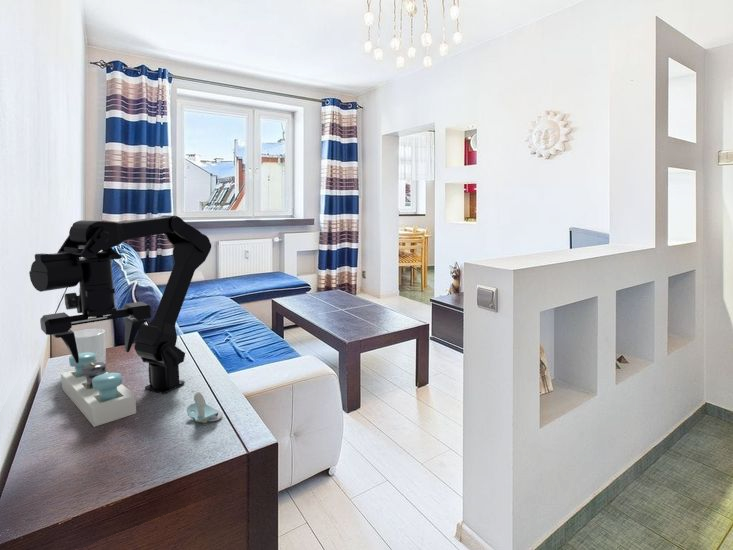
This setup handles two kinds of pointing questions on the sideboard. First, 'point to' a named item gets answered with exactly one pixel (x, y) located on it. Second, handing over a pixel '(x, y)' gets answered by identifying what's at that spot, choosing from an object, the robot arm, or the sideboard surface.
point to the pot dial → (93, 371)
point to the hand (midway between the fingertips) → (103, 356)
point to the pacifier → (202, 410)
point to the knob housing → (97, 400)
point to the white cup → (92, 343)
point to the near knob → (107, 385)
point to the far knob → (82, 361)
